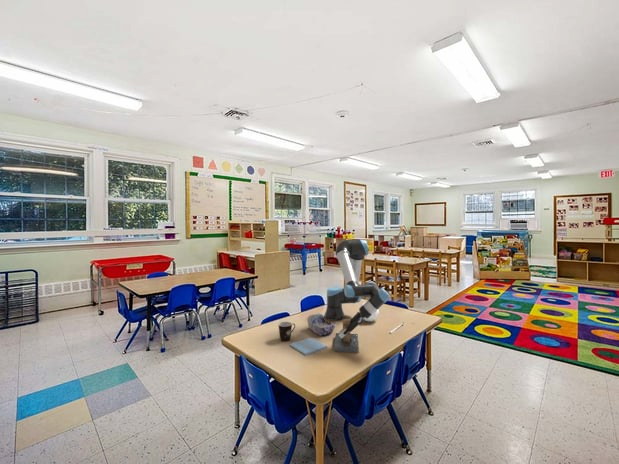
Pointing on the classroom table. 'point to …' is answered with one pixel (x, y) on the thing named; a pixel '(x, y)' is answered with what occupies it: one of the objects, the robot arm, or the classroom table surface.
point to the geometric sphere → (373, 316)
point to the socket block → (346, 344)
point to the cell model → (320, 324)
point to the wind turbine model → (396, 328)
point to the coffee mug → (285, 330)
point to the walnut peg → (345, 324)
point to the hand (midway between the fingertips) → (340, 335)
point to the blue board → (308, 346)
